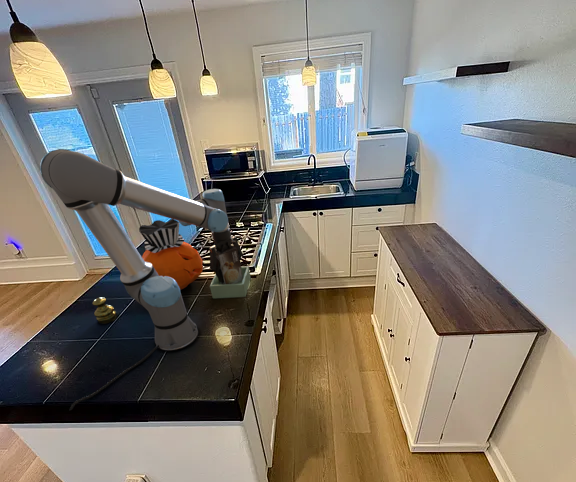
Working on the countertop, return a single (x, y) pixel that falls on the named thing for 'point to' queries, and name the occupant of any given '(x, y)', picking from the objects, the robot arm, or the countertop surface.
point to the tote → (231, 286)
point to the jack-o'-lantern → (171, 252)
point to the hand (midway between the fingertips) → (230, 277)
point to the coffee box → (230, 266)
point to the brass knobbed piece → (104, 311)
